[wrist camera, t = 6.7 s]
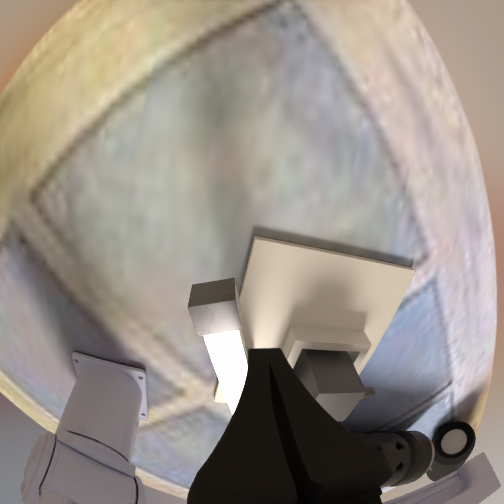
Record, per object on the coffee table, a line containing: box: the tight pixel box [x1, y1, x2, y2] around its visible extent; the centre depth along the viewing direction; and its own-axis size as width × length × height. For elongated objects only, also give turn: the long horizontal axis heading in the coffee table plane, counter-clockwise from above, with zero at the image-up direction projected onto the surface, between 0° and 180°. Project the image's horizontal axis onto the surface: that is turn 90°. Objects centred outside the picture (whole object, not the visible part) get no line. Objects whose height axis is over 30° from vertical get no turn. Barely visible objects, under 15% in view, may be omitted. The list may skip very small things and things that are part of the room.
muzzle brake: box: [352, 431, 435, 488], centre depth 29 cm, size 10×28×10 cm, turn 63°
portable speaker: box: [426, 421, 476, 482], centre depth 39 cm, size 26×10×10 cm, turn 26°
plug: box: [293, 349, 375, 422], centre depth 22 cm, size 4×7×6 cm, turn 77°
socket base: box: [214, 236, 416, 403], centre depth 23 cm, size 18×14×3 cm
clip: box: [188, 278, 251, 414], centre depth 18 cm, size 2×12×8 cm, turn 9°
